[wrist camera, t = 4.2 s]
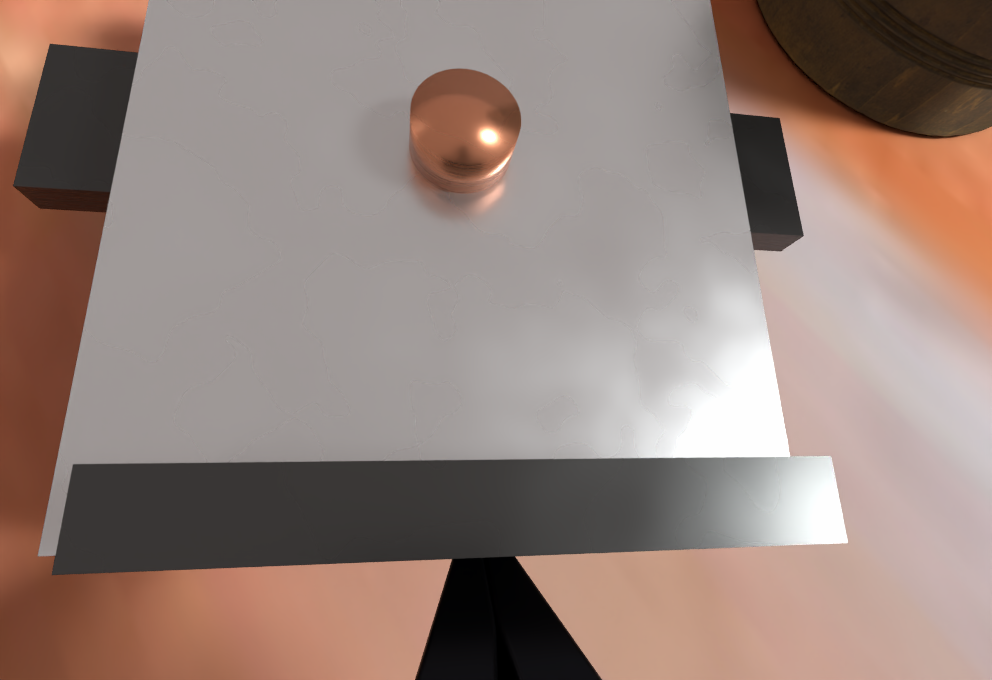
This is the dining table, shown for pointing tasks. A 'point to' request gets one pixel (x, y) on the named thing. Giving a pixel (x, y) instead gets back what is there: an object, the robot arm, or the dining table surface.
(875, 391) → the dining table surface
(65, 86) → the grey recessed tray
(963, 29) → the apothecary jar
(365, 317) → the lid
